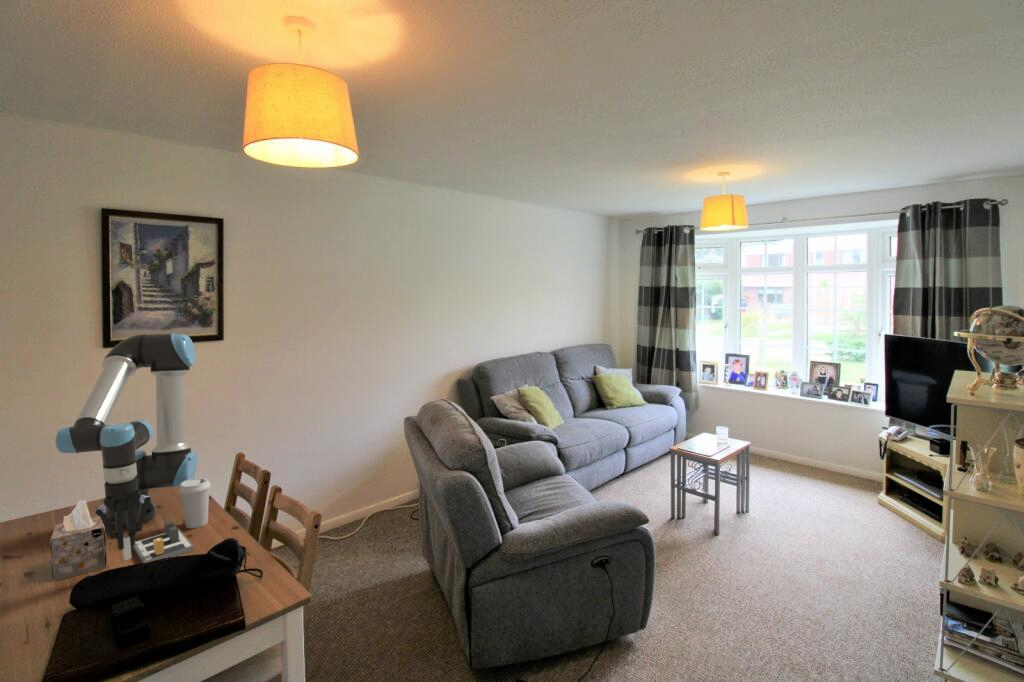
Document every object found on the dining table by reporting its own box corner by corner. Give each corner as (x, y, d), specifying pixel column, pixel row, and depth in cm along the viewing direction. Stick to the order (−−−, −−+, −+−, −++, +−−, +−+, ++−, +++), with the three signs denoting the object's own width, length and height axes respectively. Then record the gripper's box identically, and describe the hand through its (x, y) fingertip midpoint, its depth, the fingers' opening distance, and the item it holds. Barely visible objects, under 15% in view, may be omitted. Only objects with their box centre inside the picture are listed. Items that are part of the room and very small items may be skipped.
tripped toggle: (154, 552, 153) (153, 539, 152) (162, 549, 154) (161, 536, 154) (156, 555, 151) (155, 542, 151) (164, 552, 153) (163, 539, 152)
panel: (132, 547, 160) (131, 529, 159) (179, 533, 169) (178, 516, 168) (144, 566, 149) (143, 547, 148) (193, 550, 158) (192, 532, 157)
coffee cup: (197, 532, 169) (194, 488, 168) (173, 529, 171) (170, 486, 170) (219, 519, 179) (216, 477, 177) (196, 516, 181) (193, 475, 179)
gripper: (93, 489, 137) (101, 571, 140) (151, 476, 147) (157, 554, 149) (89, 481, 142) (96, 561, 145) (145, 469, 152) (151, 545, 154)
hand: (127, 557), depth 147 cm, fingers closed
